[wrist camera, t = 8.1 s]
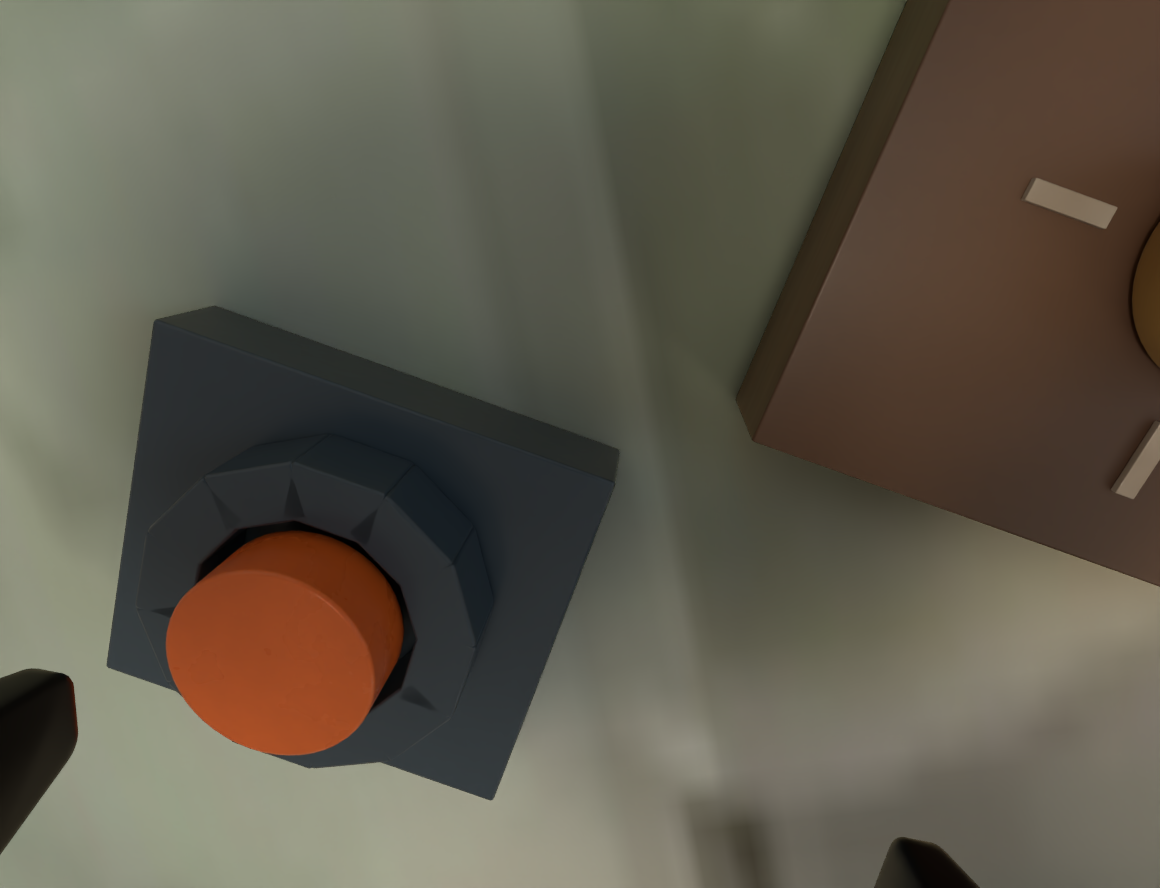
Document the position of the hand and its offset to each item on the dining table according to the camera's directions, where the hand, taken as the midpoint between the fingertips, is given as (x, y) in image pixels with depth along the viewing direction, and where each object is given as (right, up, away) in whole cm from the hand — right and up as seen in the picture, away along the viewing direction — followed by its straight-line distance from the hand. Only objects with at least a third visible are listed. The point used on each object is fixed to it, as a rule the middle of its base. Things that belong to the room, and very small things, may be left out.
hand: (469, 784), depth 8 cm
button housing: (-4, +1, +11) cm, 11 cm away
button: (-4, 0, +7) cm, 8 cm away
